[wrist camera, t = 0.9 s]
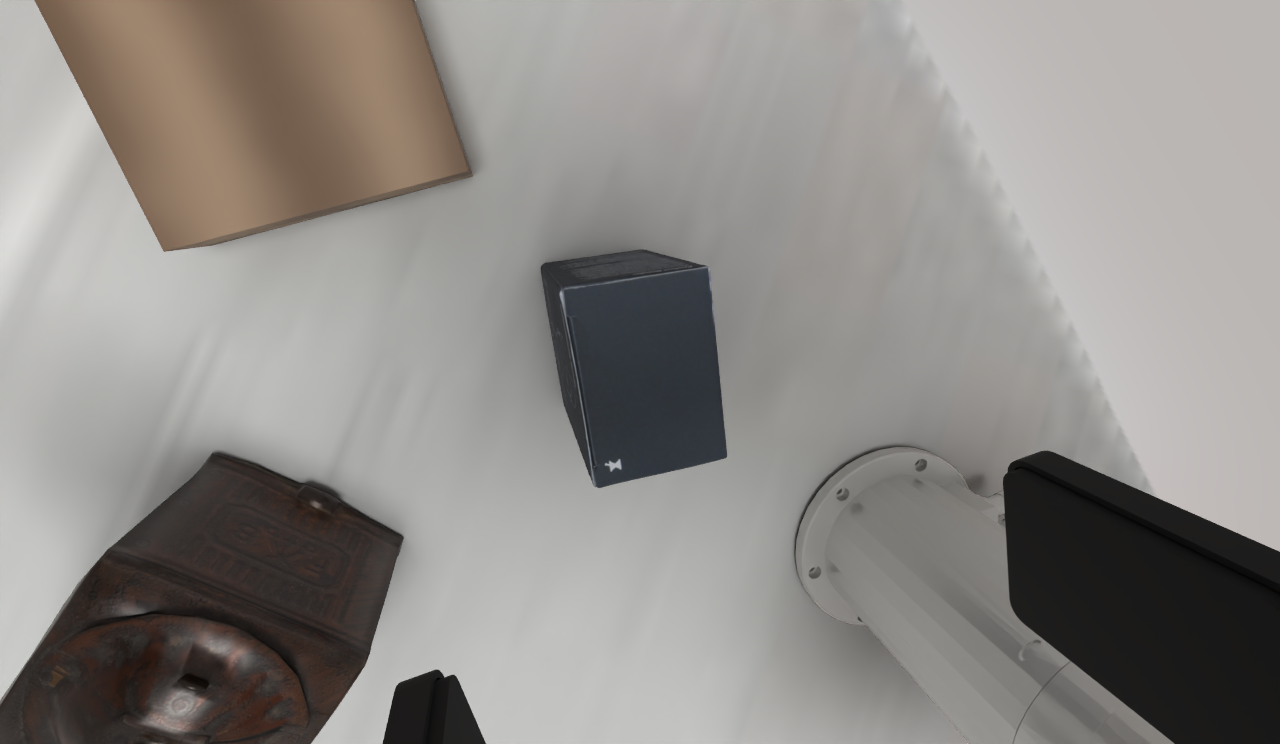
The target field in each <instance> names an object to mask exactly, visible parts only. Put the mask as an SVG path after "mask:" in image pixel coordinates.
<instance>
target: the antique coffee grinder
mask: <svg viewBox="0 0 1280 744" xmlns="http://www.w3.org/2000/svg"><path fill="white" fill-rule="evenodd" d="M402 542H403V537H401V536H399V535H398V534H396V533H394V532H392V531H390V530H389V529H387V528H385V527H383V526H382V525H380V524H378V523H376V522H374V521H373V520H371V519H369V518H367V517H365V516H364V515H362V514H360V513H358V512H357V511H355V510H353V509H351V508H350V507H348V506H346V505H344V504H343V503H341V502H339V499H337V498H335V497H333V496H331V495H330V494H328V493H326V492H324V491H321V490H319V489H316V488H314V487H311V486H309V485H307V484H306V485H305V484H299V483H296V482H294V481H291V480H289V479H287V478H284V477H282V476H280V475H277V474H275V473H273V472H271V471H268V470H266V469H264V468H261V467H259V466H257V465H254V464H250V463H247V462H243V461H240V460H237V459H233V458H230V457H226V456H223V455H220V454H216V453H212V454H211V456H210V457H209V458H208V459H207V461H206V462H205V463H204V465H203V466H202V467H201V468H200V470H199V471H198V472H197V473H196V474H195V475H194V476H193V477H192V478H191V479H190V480H189V481H188V482H187V483H185V484H184V485H183V486H182V487H181V488H179V489H178V490H177V491H176V492H175V493H174V494H172V495H171V496H170V497H169V498H168V499H166V500H165V501H164V502H163V503H162V504H161V505H159V506H158V507H157V508H156V509H155V510H154V511H152V512H151V513H150V514H149V515H148V516H147V517H146V518H144V519H143V520H142V521H141V522H140V523H139V524H137V525H136V526H135V527H134V528H133V529H132V530H130V531H129V532H128V533H127V534H126V535H125V536H124V537H122V538H121V539H120V540H119V541H118V542H117V543H115V544H114V545H113V546H112V547H110V548H109V549H108V550H107V551H106V552H105V553H104V555H103V556H102V557H101V558H100V559H99V560H98V561H97V563H96V564H95V565H94V566H93V567H92V568H91V569H90V571H89V572H88V573H87V574H86V575H85V576H84V577H83V578H82V580H81V581H80V582H79V583H78V584H77V586H76V587H75V589H74V590H73V592H72V594H71V595H70V597H69V598H68V599H67V601H66V602H65V604H64V605H63V607H62V608H61V610H60V611H59V613H58V614H57V616H56V618H55V619H54V621H53V622H52V624H51V625H50V627H49V629H48V630H47V632H46V633H45V635H44V636H43V638H42V640H41V641H40V643H39V644H38V646H37V648H36V649H35V651H34V652H33V654H32V655H31V657H30V658H29V660H28V661H27V663H26V664H25V665H24V667H23V668H22V670H21V671H20V673H19V674H18V676H17V677H16V678H15V680H14V681H13V683H12V684H11V686H10V687H9V688H8V690H7V691H6V693H5V694H4V696H3V697H2V699H1V700H0V744H311V743H312V742H313V740H314V739H315V737H316V736H317V735H318V733H319V732H320V731H321V729H322V728H323V726H324V725H325V724H326V722H327V721H328V720H329V718H330V717H331V715H332V714H333V713H334V711H335V710H336V709H337V707H338V706H339V704H340V703H341V701H342V700H343V698H344V697H345V695H346V694H347V692H348V691H349V689H350V688H351V686H352V685H353V683H354V682H355V680H356V679H357V677H358V676H359V674H360V673H361V671H362V669H363V668H364V666H365V664H366V662H367V659H368V657H369V654H370V650H371V645H372V641H373V638H374V634H375V631H376V628H377V625H378V621H379V618H380V615H381V611H382V608H383V605H384V601H385V598H386V595H387V591H388V588H389V584H390V581H391V577H392V574H393V570H394V566H395V563H396V559H397V557H398V555H399V552H400V549H401V545H402Z"/></svg>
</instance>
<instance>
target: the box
mask: <svg viewBox="0 0 1280 744" xmlns="http://www.w3.org/2000/svg"><path fill="white" fill-rule="evenodd" d="M541 274H542V281H543V287H544V293H545V299H546V305H547V311H548V317H549V322H550V328H551V334H552V340H553V345H554V351H555V357H556V363H557V368H558V373H559V379H560V385H561V391H562V396H563V402H564V406H565V409H566V412H567V415H568V417H569V420H570V423H571V425H572V428H573V431H574V434H575V437H576V439H577V442H578V445H579V448H580V451H581V453H582V456H583V459H584V461H585V464H586V467H587V470H588V473H589V475H590V477H591V480H592V482H593V485H594V487H597V488H602V487H605V486H609V485H613V484H617V483H621V482H626V481H630V480H634V479H639V478H643V477H648V476H652V475H657V474H662V473H666V472H670V471H675V470H679V469H684V468H689V467H693V466H697V465H701V464H705V463H709V462H713V461H717V460H720V459H724V458H726V457H727V449H726V438H725V429H724V418H723V408H722V397H721V387H720V376H719V366H718V355H717V345H716V334H715V324H714V313H713V302H712V292H711V279H710V269H709V267H708V266H705V265H700V264H696V263H692V262H689V261H685V260H681V259H677V258H673V257H669V256H665V255H661V254H658V253H654V252H651V251H647V250H636V251H629V252H622V253H615V254H609V255H601V256H594V257H587V258H580V259H572V260H565V261H558V262H551V263H545V264H543V265H542V266H541Z"/></svg>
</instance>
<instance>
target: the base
mask: <svg viewBox="0 0 1280 744" xmlns="http://www.w3.org/2000/svg"><path fill="white" fill-rule="evenodd" d="M35 2H36V4H37V6H38V8H39V10H40V12H41V14H42V16H43V17H44V19H45V21H46V23H47V25H48V27H49V29H50V31H51V33H52V35H53V37H54V39H55V41H56V43H57V45H58V47H59V49H60V51H61V52H62V54H63V56H64V58H65V60H66V62H67V64H68V66H69V68H70V70H71V72H72V74H73V76H74V78H75V80H76V82H77V84H78V86H79V87H80V89H81V91H82V93H83V95H84V97H85V99H86V101H87V103H88V105H89V107H90V109H91V111H92V113H93V115H94V117H95V119H96V121H97V122H98V124H99V126H100V128H101V130H102V132H103V134H104V136H105V138H106V140H107V142H108V144H109V146H110V148H111V150H112V152H113V154H114V155H115V157H116V159H117V161H118V163H119V165H120V167H121V169H122V171H123V173H124V175H125V177H126V179H127V181H128V183H129V185H130V187H131V189H132V190H133V192H134V194H135V196H136V198H137V200H138V202H139V204H140V206H141V208H142V210H143V212H144V214H145V216H146V218H147V220H148V222H149V224H150V225H151V227H152V229H153V231H154V233H155V235H156V237H157V239H158V241H159V243H160V245H161V247H162V249H163V251H164V252H165V251H173V250H180V249H188V248H196V247H204V246H212V245H216V244H219V243H223V242H227V241H231V240H234V239H238V238H242V237H246V236H249V235H253V234H257V233H261V232H265V231H268V230H272V229H276V228H280V227H283V226H287V225H291V224H295V223H298V222H302V221H306V220H310V219H313V218H317V217H321V216H325V215H328V214H332V213H336V212H340V211H343V210H347V209H351V208H355V207H358V206H362V205H366V204H370V203H373V202H377V201H381V200H385V199H389V198H392V197H396V196H400V195H404V194H407V193H411V192H415V191H419V190H422V189H426V188H430V187H434V186H437V185H441V184H445V183H449V182H452V181H456V180H460V179H464V178H467V177H471V176H473V175H472V172H471V169H470V166H469V163H468V160H467V157H466V154H465V151H464V148H463V145H462V142H461V139H460V136H459V133H458V130H457V127H456V124H455V121H454V118H453V115H452V112H451V109H450V106H449V103H448V100H447V97H446V94H445V91H444V88H443V85H442V82H441V79H440V76H439V73H438V70H437V67H436V64H435V61H434V58H433V55H432V52H431V49H430V46H429V43H428V40H427V37H426V34H425V31H424V28H423V25H422V22H421V19H420V16H419V13H418V10H417V7H416V4H415V1H414V0H35Z"/></svg>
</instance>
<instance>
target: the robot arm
mask: <svg viewBox="0 0 1280 744" xmlns="http://www.w3.org/2000/svg"><path fill="white" fill-rule="evenodd" d="M1002 514H1005V519H1003V521H1002V522H1000V523H999V519H998V516H1000V515H1002ZM795 558H796V564H797V571H798V575H799V577H800V580H801V582H802V585H803V587H804V588H805V590H806V591H807V593H808V594H809V595H810V597H811V598H812V599H813V601H814V602H815V603H816V604H817V605H818V606H819V607H820V608H821V609H822V611H824V612H825V613H827V614H828V615H830V616H831V617H833V618H834V619H837V620H840V621H842V622H845V623H848V624H854V625H861V626H865V625H867V627H868V628H869V629H870V630H871V631H872V632H873V633H874V635H875V636H876V637H877V638H878V639H879V640H880V641H881V643H882V644H883V645H884V646H885V647H886V648H887V649H888V651H889V652H890V653H891V654H892V655H893V656H894V657H895V659H896V660H897V661H898V662H899V663H900V664H901V665H902V667H903V668H904V669H905V670H906V671H907V672H908V673H909V675H910V676H911V677H912V678H913V679H914V680H915V681H916V683H917V684H918V685H919V686H920V687H921V688H922V689H923V690H924V692H925V693H926V694H927V695H928V696H929V697H930V698H931V700H932V701H933V702H934V703H935V704H936V705H937V706H938V708H939V709H940V710H941V711H942V712H943V713H944V714H945V716H946V717H947V718H948V719H949V720H950V721H951V722H952V724H953V725H954V726H955V727H956V728H957V729H958V730H959V732H960V733H961V734H962V735H963V736H964V737H965V738H966V740H967V741H968V742H969V743H970V744H1280V552H1279V551H1277V550H1274V549H1272V548H1270V547H1267V546H1265V545H1263V544H1260V543H1258V542H1256V541H1254V540H1251V539H1249V538H1247V537H1245V536H1242V535H1240V534H1238V533H1236V532H1233V531H1231V530H1229V529H1227V528H1224V527H1222V526H1220V525H1217V524H1215V523H1213V522H1211V521H1208V520H1206V519H1204V518H1201V517H1199V516H1197V515H1195V514H1192V513H1190V512H1188V511H1186V510H1183V509H1181V508H1179V507H1177V506H1174V505H1172V504H1170V503H1167V502H1165V501H1163V500H1161V499H1158V498H1156V497H1154V496H1152V495H1149V494H1147V493H1145V492H1142V491H1140V490H1138V489H1136V488H1133V487H1131V486H1129V485H1127V484H1124V483H1122V482H1120V481H1117V480H1115V479H1113V478H1111V477H1108V476H1106V475H1104V474H1102V473H1099V472H1097V471H1095V470H1092V469H1090V468H1088V467H1086V466H1083V465H1081V464H1079V463H1077V462H1074V461H1072V460H1070V459H1067V458H1065V457H1063V456H1061V455H1058V454H1056V453H1054V452H1050V451H1041V452H1038V453H1035V454H1032V455H1030V456H1027V457H1024V458H1021V459H1018V460H1016V461H1014V462H1012V463H1011V464H1010V465H1009V467H1008V473H1007V474H1006V475H1005V476H1004V478H1003V491H1000V492H998V493H996V494H994V495H993V496H990V497H988V498H985V497H983V496H978V495H976V494H975V493H973V492H971V491H970V489H969V488H968V486H967V484H966V482H965V480H964V478H963V477H962V476H961V475H960V473H959V472H958V471H957V470H956V469H955V468H954V467H953V466H952V465H950V464H949V463H947V462H946V461H944V460H943V459H941V458H939V457H937V456H935V455H933V454H931V453H929V452H927V451H924V450H920V449H916V448H912V447H893V448H887V449H882V450H878V451H875V452H872V453H869V454H867V455H864V456H861V457H860V458H858V459H856V460H854V461H853V462H851V463H849V464H847V465H846V466H845V467H843V468H842V469H841V470H840V471H838V472H837V473H836V474H835V475H833V476H832V477H831V478H830V479H829V480H828V481H827V482H826V484H825V485H824V486H823V487H822V488H821V489H820V490H819V491H818V493H817V494H816V496H815V497H814V499H813V500H812V502H811V503H810V505H809V506H808V508H807V511H806V513H805V515H804V517H803V520H802V522H801V524H800V528H799V532H798V536H797V540H796V557H795ZM383 744H486V743H485V741H484V738H483V736H482V734H481V732H480V729H479V727H478V725H477V722H476V720H475V718H474V715H473V713H472V711H471V708H470V706H469V704H468V701H467V699H466V697H465V695H464V692H463V690H462V688H461V685H460V683H459V681H458V679H457V677H456V676H455V675H450V676H448V677H445V678H444V676H443V674H442V673H441V672H440V671H439V670H434V671H431V672H428V673H425V674H422V675H420V676H417V677H414V678H411V679H409V680H406V681H403V682H400V683H399V684H398V685H397V686H396V689H395V692H394V696H393V700H392V705H391V709H390V714H389V718H388V723H387V727H386V731H385V736H384V740H383Z"/></svg>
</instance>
